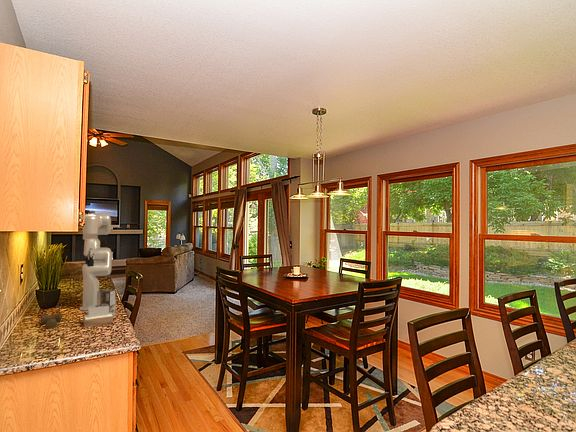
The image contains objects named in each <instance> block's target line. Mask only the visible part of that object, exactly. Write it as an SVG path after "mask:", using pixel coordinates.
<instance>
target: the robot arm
mask: <svg viewBox="0 0 576 432" xmlns="http://www.w3.org/2000/svg"><path fill="white" fill-rule="evenodd" d="M84 215H85V225H84V227H83V228H82V240H84V245H83V255H84V256H85V263H84V264H83V265H82V269H81V270H82V281H83V283H82V286H83V288H82V306H80V307H79V310H80V311H88V306H94V305H97V292H98V291H100V280H99V279H98V278H97V277H104V276H105V277H106V276H109V275H111V273H112V261H113V260H112V259H113V258H112V254H113V253H112V250H111V248H109V247H101V241H100V239H99V238H98V237H99V236H100V235H101V236H103V235H104V236H107V235H109V234H110V233H111V231H112V230H111V229H112V219H111V216H110V214H109V213H107V212H92V213H88V214H84Z"/></svg>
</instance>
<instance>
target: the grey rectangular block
mask: <svg viewBox="0 0 576 432" xmlns="http://www.w3.org/2000/svg"><path fill="white" fill-rule="evenodd" d="M61 322H62V312H59V313H56V314H51V315H48V314H45V313H41V317H40V325H41V324H43V325H44V324H45V327H46V329H48V330H52V329H55V328H56V327H57V325H58V323H61Z"/></svg>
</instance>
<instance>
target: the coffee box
mask: <svg viewBox="0 0 576 432" xmlns="http://www.w3.org/2000/svg"><path fill="white" fill-rule="evenodd" d="M102 304H108V305H109V312H110V311H111V313H112V316H113V317H115V316H117V311H116V310H117V290H116V289H101V290H99V291H98V292H97V305H102Z"/></svg>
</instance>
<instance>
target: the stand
mask: <svg viewBox="0 0 576 432" xmlns="http://www.w3.org/2000/svg"><path fill="white" fill-rule="evenodd" d="M82 319H83V320H82V322H83V326H84V328H91V327H95V326H103V325H109V324H111V325H112V324H113V323H114V322H113V321H114V316H112V314H111V315H107V316H100V317H92V318H85V315H83V316H82Z"/></svg>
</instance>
